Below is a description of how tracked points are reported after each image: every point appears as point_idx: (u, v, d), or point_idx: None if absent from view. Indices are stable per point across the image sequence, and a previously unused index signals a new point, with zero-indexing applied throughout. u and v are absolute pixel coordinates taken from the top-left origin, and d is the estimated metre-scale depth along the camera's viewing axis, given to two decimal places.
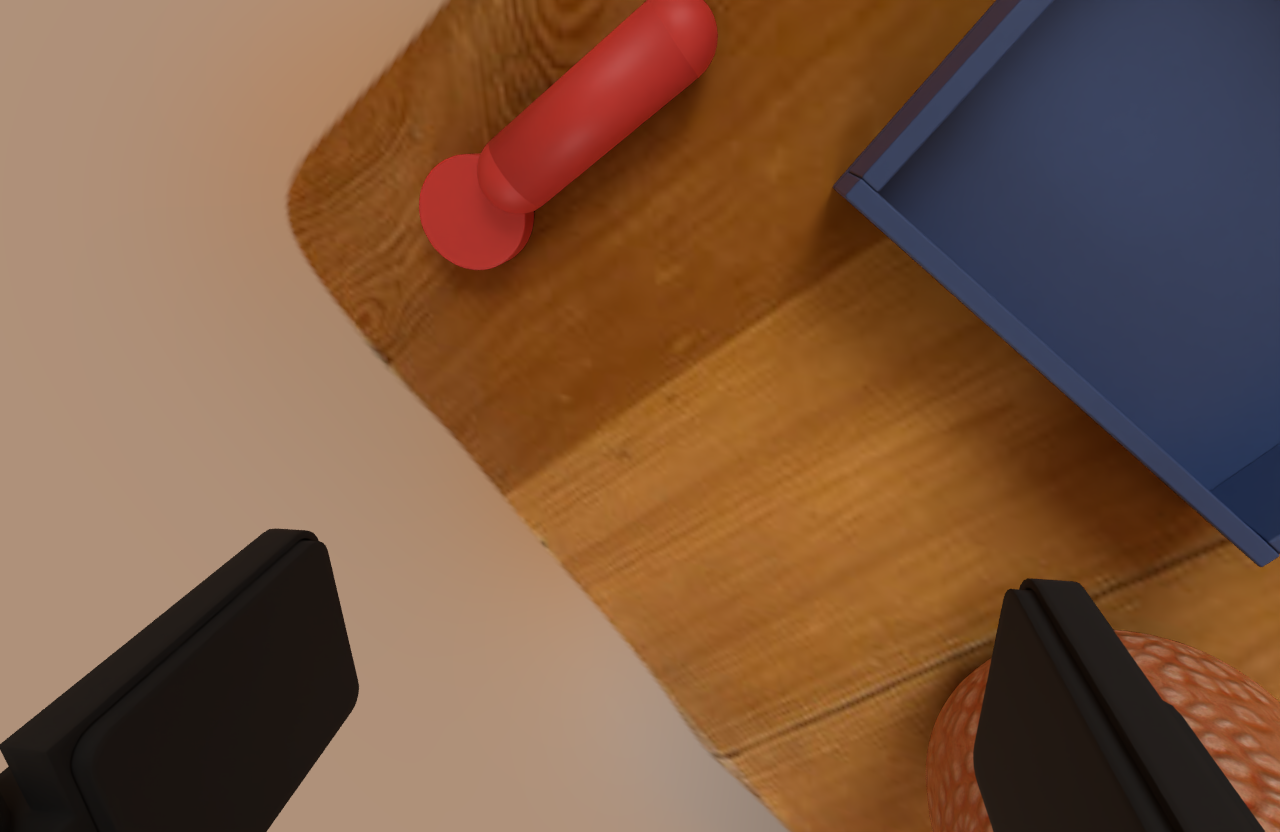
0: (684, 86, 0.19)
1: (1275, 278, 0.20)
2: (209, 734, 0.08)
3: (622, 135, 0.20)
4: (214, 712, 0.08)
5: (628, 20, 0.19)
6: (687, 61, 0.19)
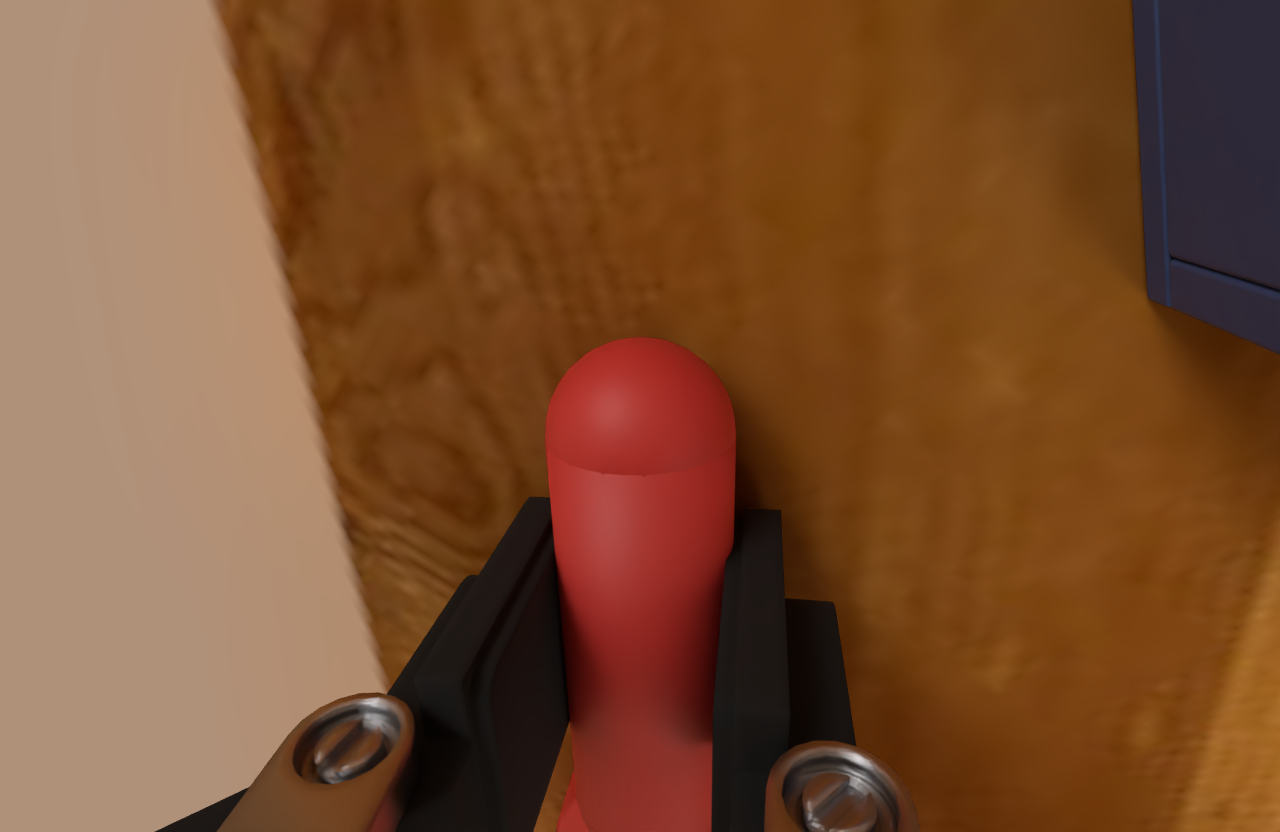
0: (732, 477, 0.09)
1: None
2: (532, 679, 0.08)
3: None
4: (534, 659, 0.08)
5: (552, 501, 0.09)
6: (696, 463, 0.08)
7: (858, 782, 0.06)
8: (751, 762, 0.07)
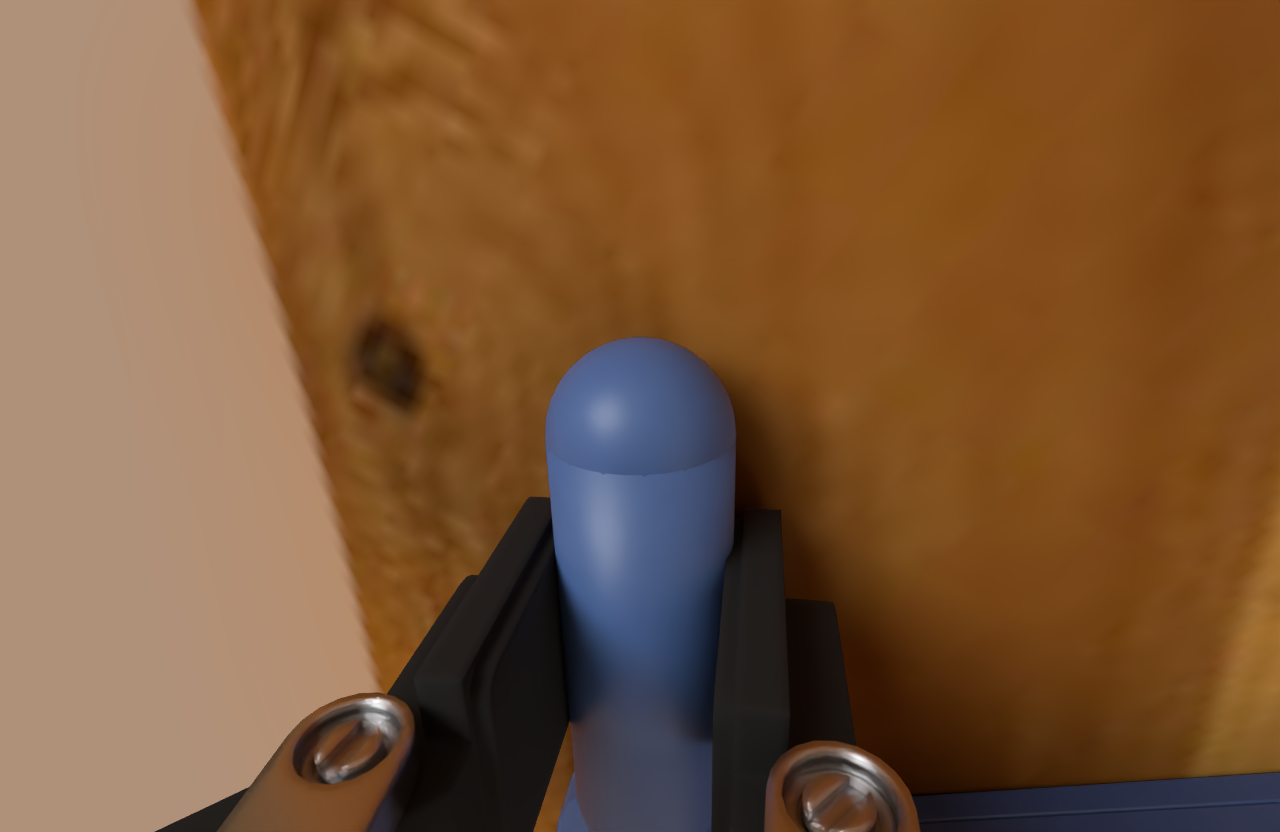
0: None
1: None
2: (532, 679, 0.08)
3: None
4: (534, 659, 0.08)
5: None
6: None
7: (858, 782, 0.06)
8: (751, 762, 0.07)
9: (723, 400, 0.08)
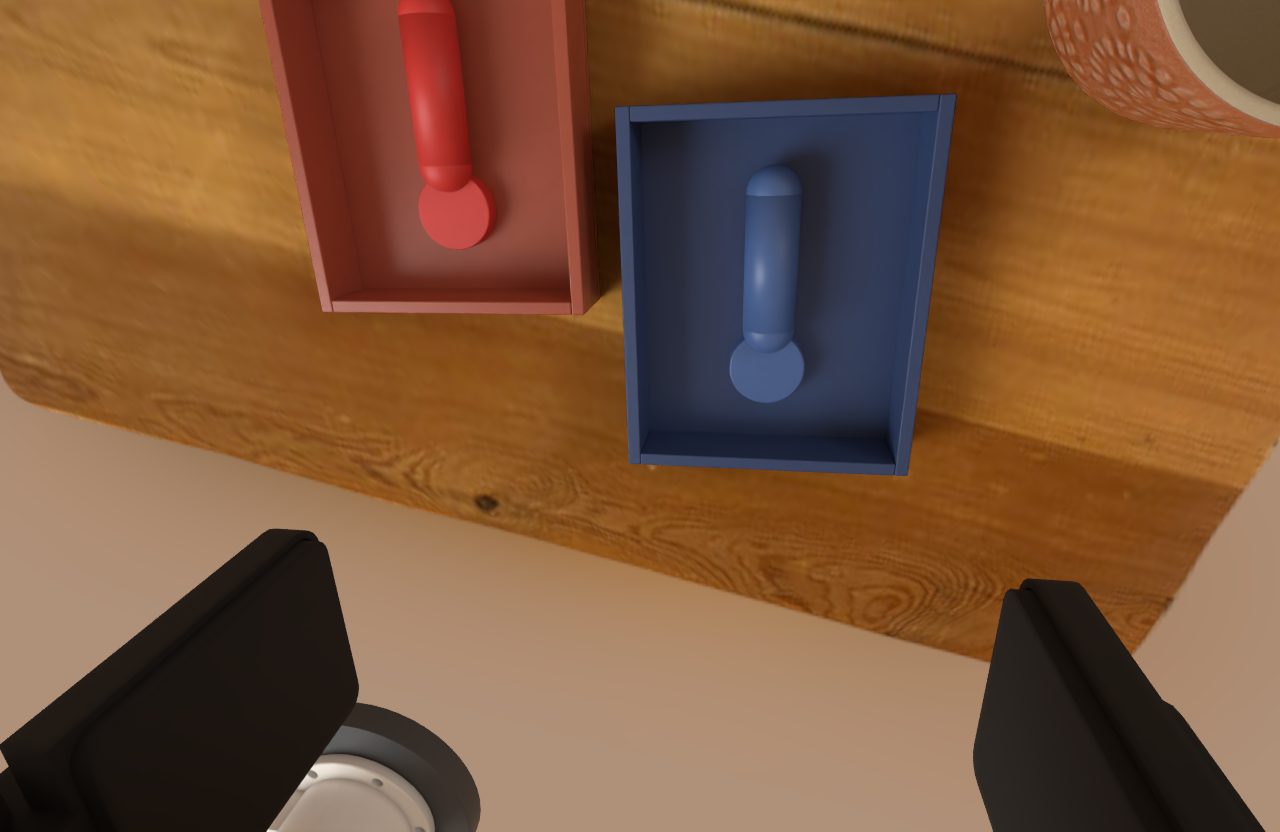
0: (451, 26, 0.30)
1: None
2: (209, 734, 0.08)
3: (455, 82, 0.30)
4: (214, 712, 0.08)
5: None
6: (436, 13, 0.29)
7: None
8: None
9: (799, 180, 0.30)
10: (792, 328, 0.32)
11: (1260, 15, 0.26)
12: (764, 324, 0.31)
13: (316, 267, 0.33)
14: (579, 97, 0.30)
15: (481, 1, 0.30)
